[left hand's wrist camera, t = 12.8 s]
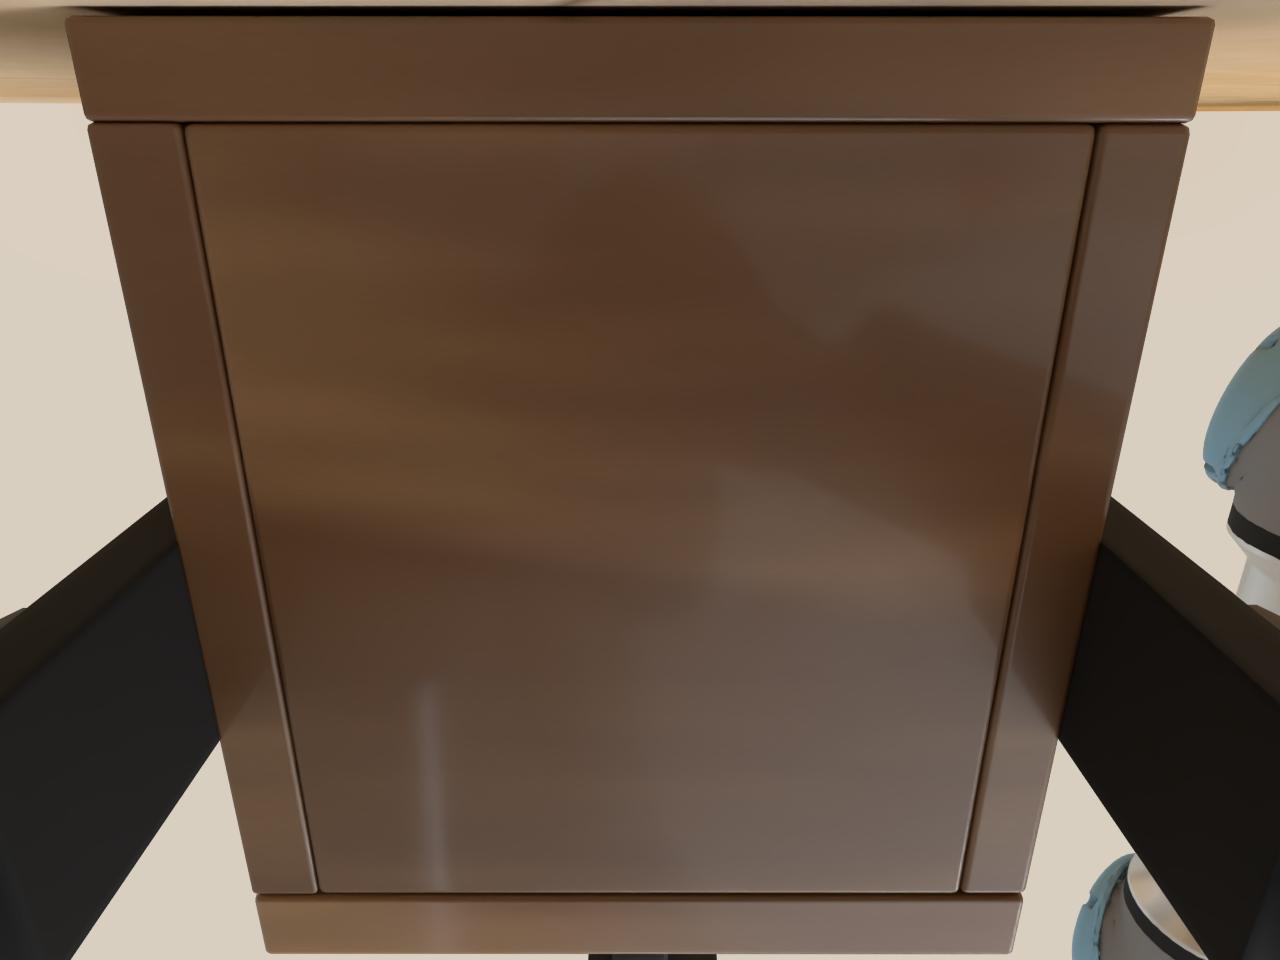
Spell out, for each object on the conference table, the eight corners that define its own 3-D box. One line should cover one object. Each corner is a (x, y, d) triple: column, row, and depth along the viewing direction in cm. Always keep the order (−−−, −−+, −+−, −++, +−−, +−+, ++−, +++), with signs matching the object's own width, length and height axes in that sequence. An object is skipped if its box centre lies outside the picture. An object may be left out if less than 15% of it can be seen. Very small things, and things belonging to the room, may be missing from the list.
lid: (819, 481, 26) (799, 715, 29) (460, 480, 26) (479, 714, 29) (1026, 899, 12) (946, 1262, 15) (252, 898, 12) (331, 1261, 15)
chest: (861, 80, 21) (825, 492, 25) (418, 80, 21) (453, 492, 25) (1220, 15, 8) (1027, 897, 12) (59, 14, 8) (251, 895, 12)
